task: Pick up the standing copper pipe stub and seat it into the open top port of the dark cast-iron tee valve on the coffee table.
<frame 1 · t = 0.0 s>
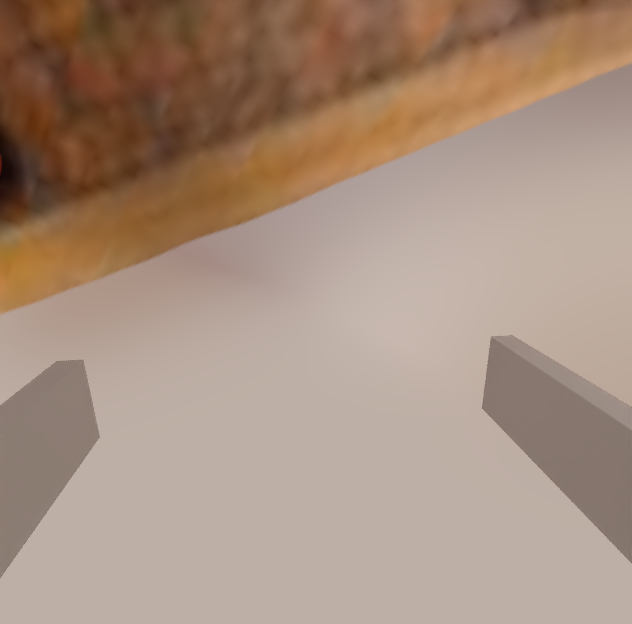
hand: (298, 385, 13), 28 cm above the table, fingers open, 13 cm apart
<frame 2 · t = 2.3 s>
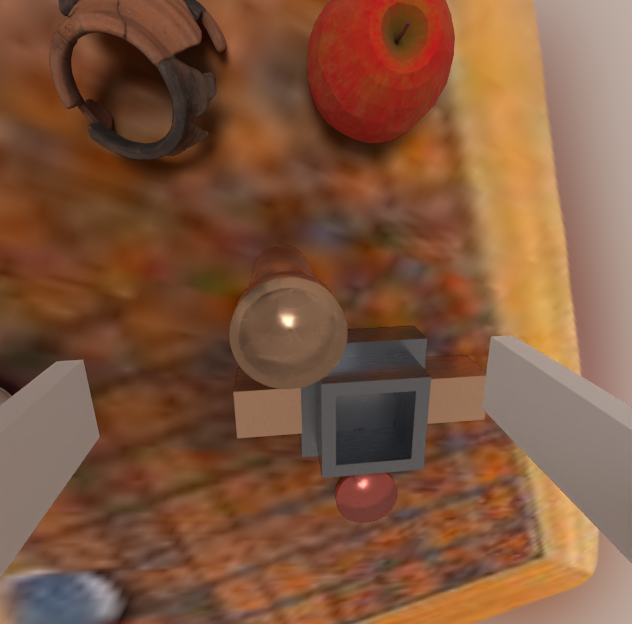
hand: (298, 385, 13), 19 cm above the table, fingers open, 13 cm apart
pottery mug: (150, 63, 26), on the table
apple: (359, 87, 27), on the table
pipe fitting: (281, 272, 30), on the table
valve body: (355, 382, 34), on the table
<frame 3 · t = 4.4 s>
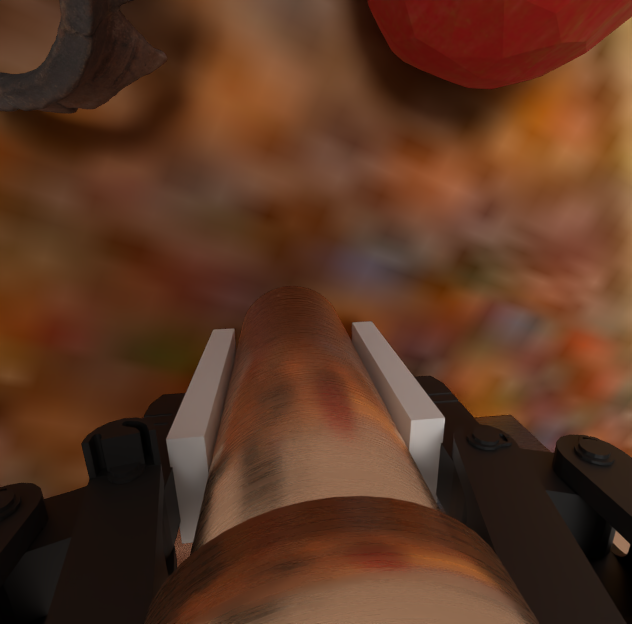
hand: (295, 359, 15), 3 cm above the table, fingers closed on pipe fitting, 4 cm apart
pipe fitting: (291, 334, 17), on the table, touching gripper
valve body: (410, 503, 21), on the table
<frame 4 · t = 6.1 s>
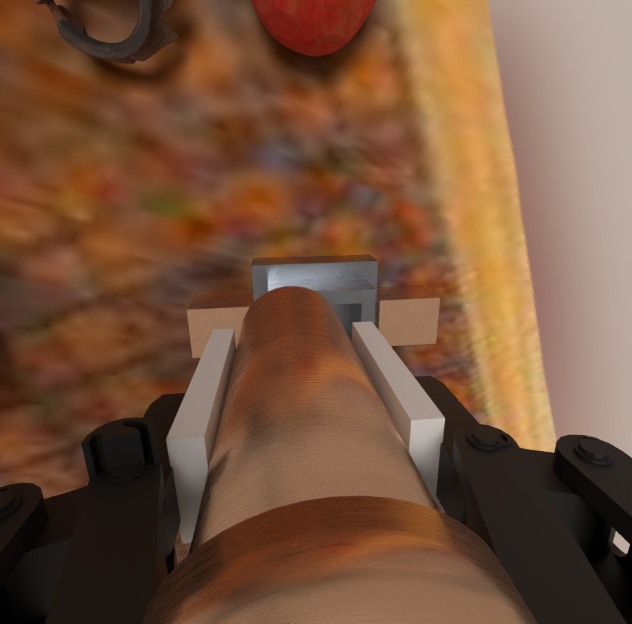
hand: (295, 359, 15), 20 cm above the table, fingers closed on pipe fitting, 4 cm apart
apple: (307, 6, 28), on the table
pipe fitting: (291, 334, 17), point 17 cm above the table, touching gripper
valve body: (312, 312, 35), on the table
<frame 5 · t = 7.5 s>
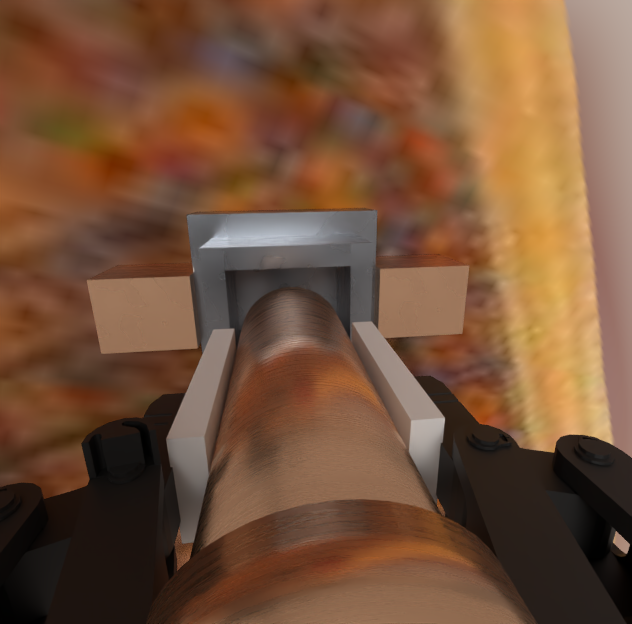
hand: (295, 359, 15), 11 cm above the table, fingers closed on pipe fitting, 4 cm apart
pipe fitting: (291, 335, 17), point 8 cm above the table, touching gripper
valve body: (286, 290, 25), on the table
when the fingers open (8 cm above the table, at t = 8.2 s): pipe fitting drops 2 cm, resting on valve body.
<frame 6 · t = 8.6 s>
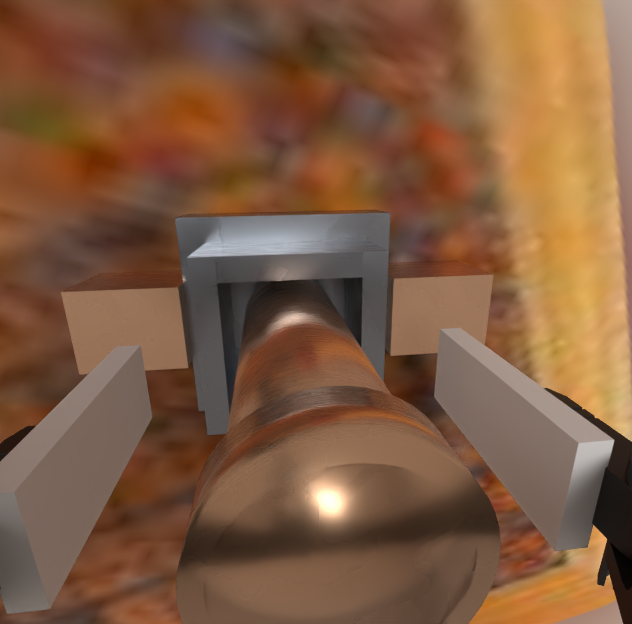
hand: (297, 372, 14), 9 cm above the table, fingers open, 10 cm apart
pipe fitting: (289, 317, 19), point 3 cm above the table, touching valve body
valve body: (287, 301, 22), on the table
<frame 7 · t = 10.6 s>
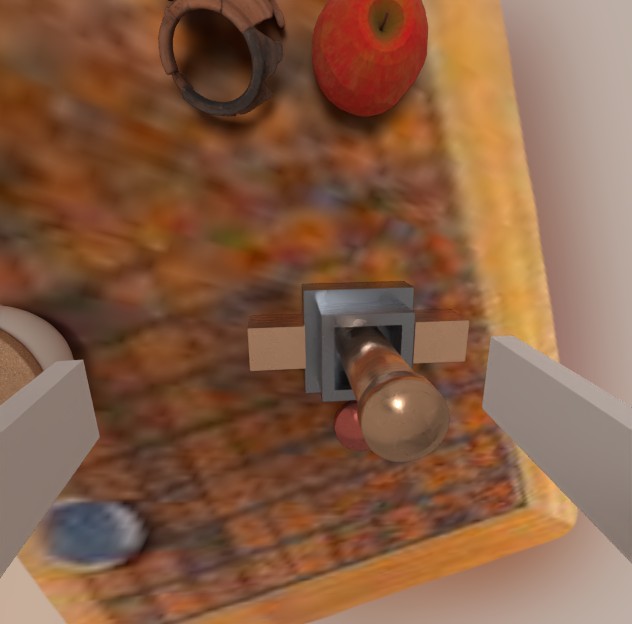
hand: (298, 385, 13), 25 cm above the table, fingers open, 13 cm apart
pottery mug: (223, 42, 31), on the table
apple: (356, 73, 33), on the table
pipe fitting: (358, 341, 36), point 3 cm above the table, touching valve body
lidded bowl: (30, 353, 37), on the table
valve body: (352, 331, 39), on the table
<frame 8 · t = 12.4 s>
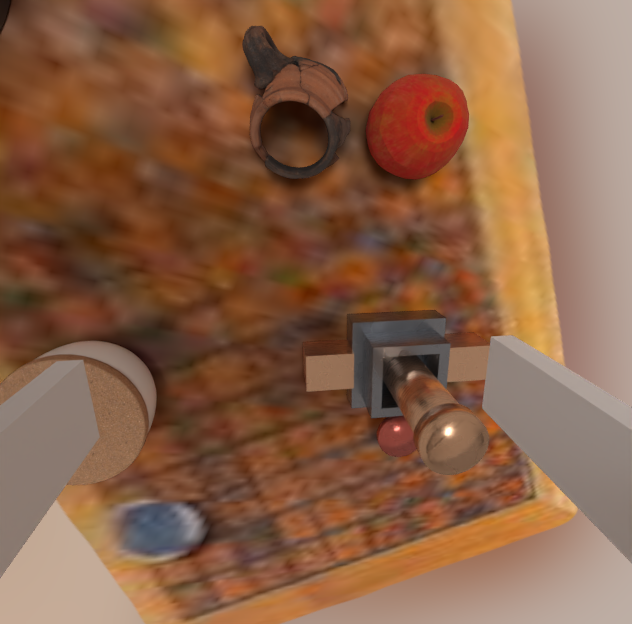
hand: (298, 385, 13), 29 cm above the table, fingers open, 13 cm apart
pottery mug: (291, 110, 36), on the table
apple: (398, 136, 38), on the table
pipe fitting: (397, 364, 42), point 3 cm above the table, touching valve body
lidded bowl: (111, 377, 42), on the table
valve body: (389, 353, 45), on the table
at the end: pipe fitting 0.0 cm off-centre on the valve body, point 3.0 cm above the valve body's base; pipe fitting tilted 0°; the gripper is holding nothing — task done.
